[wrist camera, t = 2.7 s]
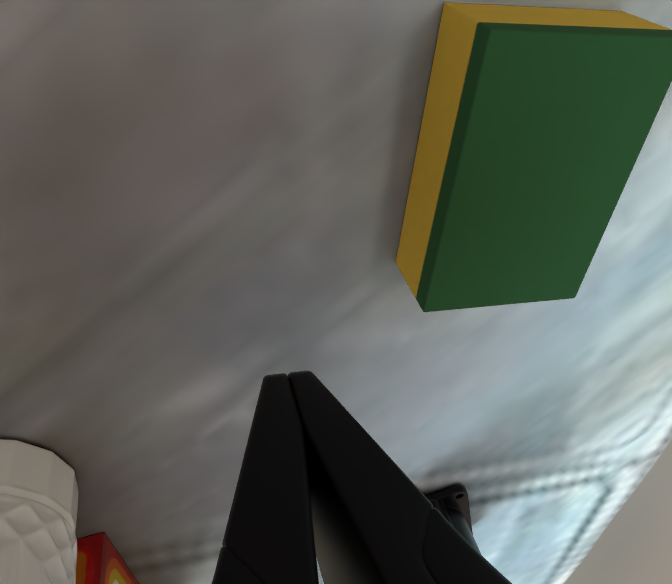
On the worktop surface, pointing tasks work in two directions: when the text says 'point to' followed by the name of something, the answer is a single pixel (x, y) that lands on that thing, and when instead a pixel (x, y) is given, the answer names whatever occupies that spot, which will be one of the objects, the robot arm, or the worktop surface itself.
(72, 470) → the white cup
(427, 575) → the robot arm
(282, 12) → the worktop surface
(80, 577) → the baking soda box
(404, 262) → the sponge
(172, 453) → the worktop surface
